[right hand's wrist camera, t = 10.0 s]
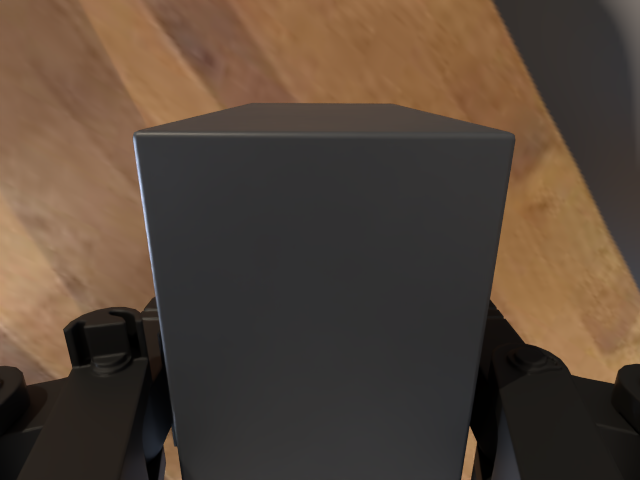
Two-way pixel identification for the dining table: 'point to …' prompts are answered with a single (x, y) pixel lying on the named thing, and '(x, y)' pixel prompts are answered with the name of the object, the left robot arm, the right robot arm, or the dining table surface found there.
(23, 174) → the dining table surface
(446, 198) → the beam
